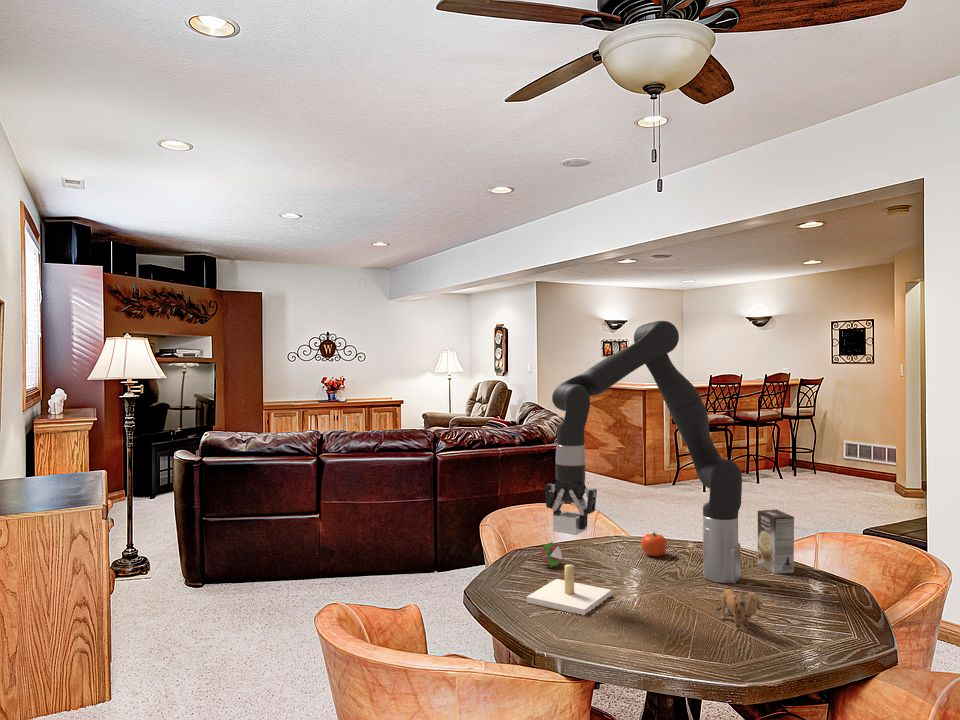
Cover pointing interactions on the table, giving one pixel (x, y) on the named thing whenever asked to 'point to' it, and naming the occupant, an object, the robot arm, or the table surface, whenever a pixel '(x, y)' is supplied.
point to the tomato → (654, 544)
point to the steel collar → (567, 523)
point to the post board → (569, 594)
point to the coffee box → (776, 541)
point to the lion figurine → (740, 606)
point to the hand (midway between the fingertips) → (570, 527)
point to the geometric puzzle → (551, 554)
